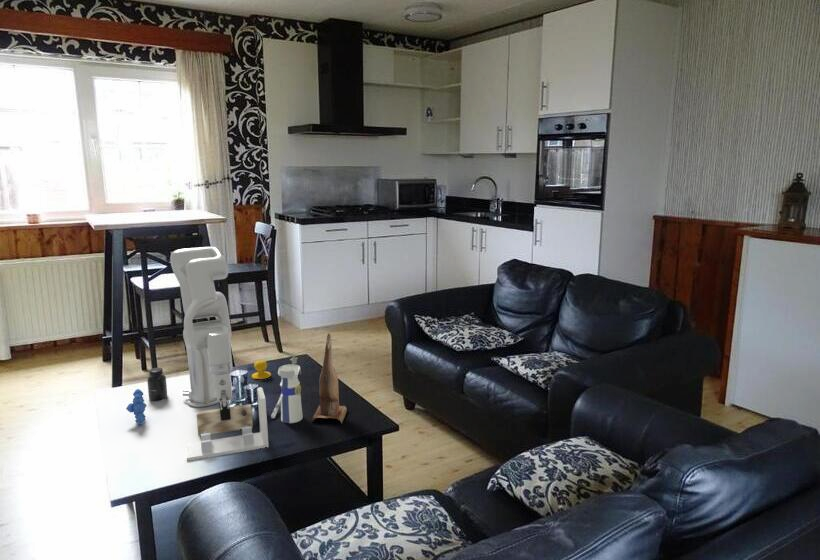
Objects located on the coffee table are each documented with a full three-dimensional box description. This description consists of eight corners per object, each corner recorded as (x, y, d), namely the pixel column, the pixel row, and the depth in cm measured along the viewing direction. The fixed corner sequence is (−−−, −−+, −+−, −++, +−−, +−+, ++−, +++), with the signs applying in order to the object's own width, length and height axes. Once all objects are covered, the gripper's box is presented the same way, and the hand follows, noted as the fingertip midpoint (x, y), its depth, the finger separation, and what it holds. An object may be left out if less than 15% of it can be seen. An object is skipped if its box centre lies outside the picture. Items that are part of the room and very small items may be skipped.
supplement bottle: (149, 402, 228) (146, 373, 226) (148, 396, 234) (145, 368, 232) (168, 399, 231) (165, 370, 229) (166, 393, 237) (164, 365, 235)
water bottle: (308, 415, 215) (305, 350, 210) (295, 425, 207) (291, 357, 202) (290, 411, 218) (286, 347, 213) (276, 421, 211) (271, 354, 206)
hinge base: (187, 461, 183) (182, 410, 180) (187, 446, 192) (182, 398, 189) (268, 447, 191) (265, 398, 188) (265, 434, 201) (262, 387, 197)
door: (198, 437, 199) (196, 415, 197) (198, 433, 202) (196, 411, 201) (253, 429, 205) (251, 407, 203) (252, 425, 208) (250, 404, 206)
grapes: (128, 417, 215) (124, 386, 213) (148, 414, 218) (145, 383, 215) (127, 430, 205) (123, 398, 202) (148, 427, 207) (144, 395, 205)
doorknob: (266, 380, 250) (248, 379, 251) (273, 374, 258) (256, 373, 259) (265, 364, 248) (247, 363, 250) (272, 358, 256) (255, 357, 258)
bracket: (295, 389, 234) (290, 372, 228) (281, 433, 218) (276, 415, 212) (287, 389, 235) (282, 372, 229) (273, 433, 218) (267, 415, 212)
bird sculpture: (311, 425, 208) (307, 339, 201) (317, 410, 219) (313, 328, 212) (342, 425, 208) (339, 339, 200) (347, 410, 219) (344, 328, 212)
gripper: (233, 373, 192) (238, 422, 195) (231, 358, 208) (234, 404, 211) (209, 376, 190) (214, 426, 193) (208, 361, 206) (213, 407, 209)
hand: (225, 414), depth 202 cm, fingers open, 9 cm apart
